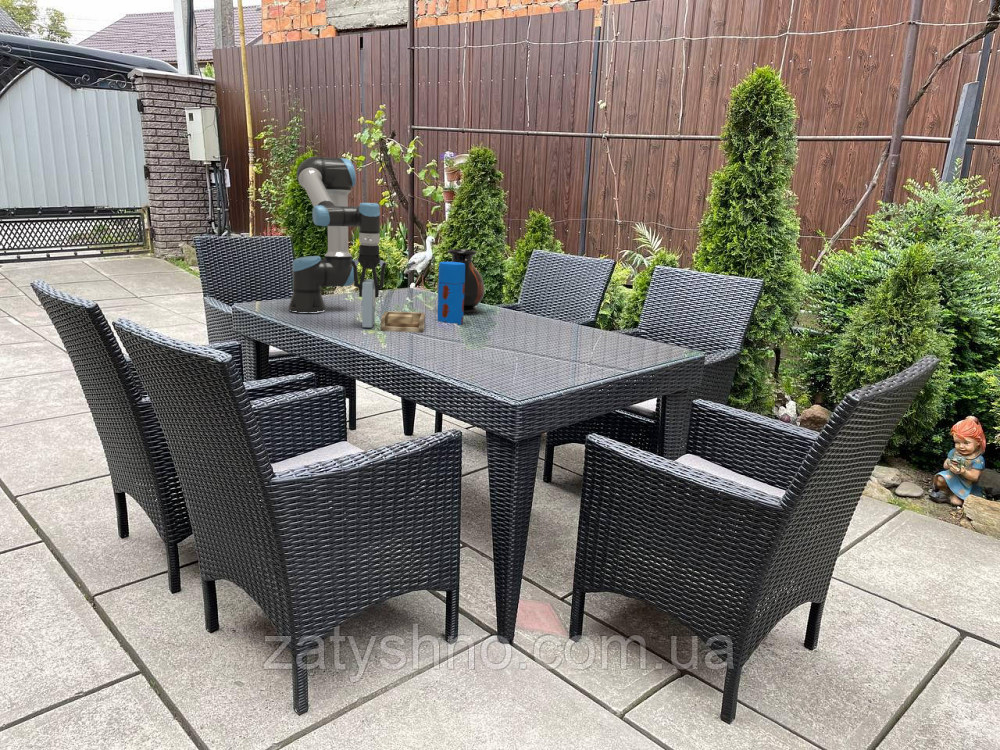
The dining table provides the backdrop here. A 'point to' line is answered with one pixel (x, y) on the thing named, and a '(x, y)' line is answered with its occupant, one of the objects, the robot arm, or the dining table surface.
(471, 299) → the amphora vase
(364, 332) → the dining table surface
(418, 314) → the box
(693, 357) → the dining table surface
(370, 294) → the pale blue block
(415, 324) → the offcut
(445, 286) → the thermos
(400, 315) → the offcut
